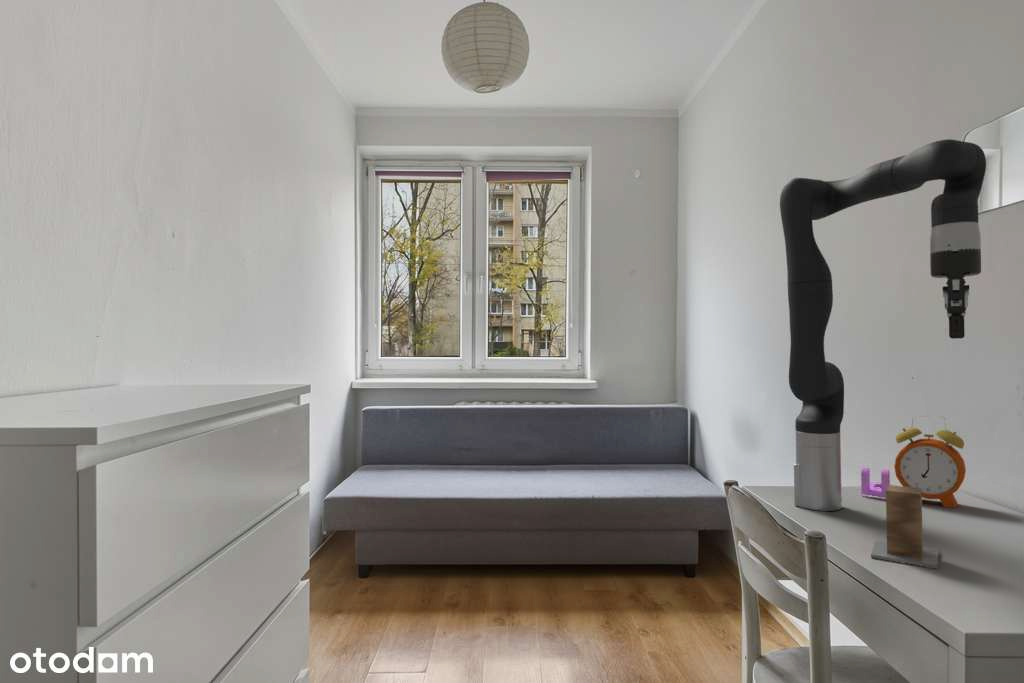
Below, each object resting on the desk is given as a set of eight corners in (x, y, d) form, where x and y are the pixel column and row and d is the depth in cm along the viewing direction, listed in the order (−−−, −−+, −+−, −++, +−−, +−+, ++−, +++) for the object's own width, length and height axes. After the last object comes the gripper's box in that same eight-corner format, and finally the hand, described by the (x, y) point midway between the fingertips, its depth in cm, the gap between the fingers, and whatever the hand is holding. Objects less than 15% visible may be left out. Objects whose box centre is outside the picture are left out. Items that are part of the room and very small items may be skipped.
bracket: (888, 500, 144) (888, 471, 144) (861, 497, 147) (861, 468, 147) (893, 489, 154) (893, 462, 154) (868, 486, 158) (867, 459, 158)
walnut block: (887, 553, 106) (885, 490, 106) (889, 545, 110) (888, 484, 110) (921, 559, 103) (920, 494, 103) (922, 550, 107) (921, 488, 107)
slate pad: (870, 557, 106) (870, 554, 106) (876, 543, 113) (876, 539, 113) (937, 569, 100) (937, 565, 100) (938, 552, 108) (938, 549, 108)
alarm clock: (894, 500, 143) (892, 416, 143) (898, 495, 147) (897, 413, 148) (964, 510, 134) (962, 420, 134) (966, 504, 139) (965, 417, 139)
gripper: (931, 256, 119) (932, 338, 119) (929, 247, 108) (930, 338, 108) (979, 252, 115) (980, 338, 115) (982, 243, 103) (984, 338, 103)
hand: (956, 338), depth 111 cm, fingers open, 8 cm apart
